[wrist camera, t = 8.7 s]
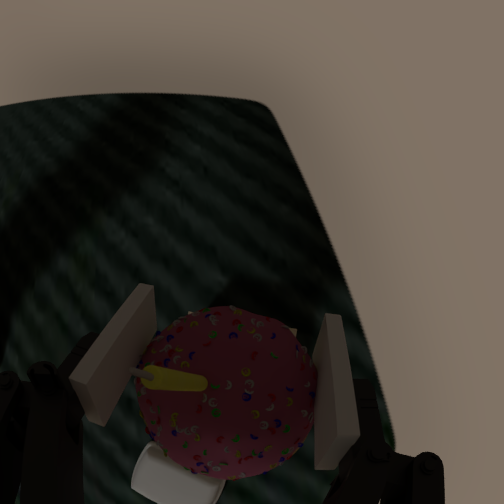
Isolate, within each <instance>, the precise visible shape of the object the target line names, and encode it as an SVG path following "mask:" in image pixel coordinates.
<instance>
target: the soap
mask: <svg viewBox="0 0 504 504" xmlns="http://www.w3.org/2000/svg"><path fill="white" fill-rule="evenodd" d="M225 481H226V480H223V479H217V478H213V477H209V476H206V475H202V474H199V473H197V474H193V473H192V472H191V470H186V469H184V467H183V466H181V465H179V464H177V463H176V462H174V461H173V460H172V459H171V458H170V457H169V456H168V455H167V457H165V456H164V452H163V450H162V449H161V448H160V446H159V445H158V446H157V444H156V442H155V441H150V442H149V443H148V444H147V445H146V446H145V448H144V450H143V451H142V453H141V455H140V457H139V459H138V461H137V463H136V466H135V469H134V472H133V475H132V480H131V483H132V484H131V488H132V489H134V490H135V491H137V492H139V493H140V494H142V495H144V496H145V497H147V498H149V499H150V500H152V501H154V502H156V503H158V504H216V502H217V500H218V499H219V497H220V495H221V492H222V490H223V487H224V485H225Z"/></svg>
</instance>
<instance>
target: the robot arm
mask: <svg viewBox="0 0 504 504" xmlns="http://www.w3.org/2000/svg"><path fill="white" fill-rule="evenodd" d="M156 330H157V322H156V311H155V298H154V286H152V285H147V284H142V283H139V285H138V286H137V287H136V288H135V290H134V291H133V292H132V293H131V295H130V296H129V297H128V298H127V300H126V301H125V302H124V304H123V305H122V306H121V307H120V309H119V310H118V311H117V313H116V314H115V315H114V316H113V318H112V319H111V320H110V322H109V323H108V324H107V326H106V327H105V328H104V330H103V331H102V332H101V334H97V333H94V332H90V333H88V334H87V335H85V336H84V337H82V338H81V339H80V341H79V342H78V343H77V344H76V347H74V348H73V350H72V351H71V353H70V354H69V355H68V356H67V357H66V359H65V360H64V361H63V363H62V364H61V365H60V367H59V368H58V369H56V367H55V365H54V364H52V363H51V362H47V361H41V362H37V363H35V364H33V365H32V366H31V367H30V368H29V369H28V371H27V375H28V377H29V379H30V381H31V382H27V381H20V379H19V377H18V375H17V374H16V373H14V372H13V371H4V372H2V373H0V504H14V503H15V500H16V496H17V492H18V489H19V486H20V482H21V491H20V504H84V491H83V423H82V420H81V419H82V417H83V415H84V413H85V414H86V416H87V418H88V420H89V421H91V422H93V423H96V424H99V425H101V426H104V427H105V425H106V423H107V421H108V419H109V417H110V415H111V413H112V411H113V409H114V407H115V405H116V404H117V402H118V400H119V398H120V396H121V394H122V392H123V390H124V388H125V387H126V385H127V383H128V381H129V379H130V377H131V375H132V374H131V373H130V372H129V369H130V367H135V368H136V366H137V364H138V363H139V361H140V358H141V357H139V355H142V354H143V352H144V350H145V349H146V348H147V347H146V346H148V345H149V343H150V341H151V339H152V337H153V336H154V334H155V332H156ZM312 359H313V363H314V364H315V366H316V368H317V373H318V378H317V388H316V396H315V403H314V424H315V469H316V470H334V469H335V468H336V467H337V466H338V464H339V474H338V475H337V476H336V478H335V479H334V480H333V481H332V482H331V483H330V485H332V486H331V488H330V490H329V492H328V494H327V496H326V498H325V500H324V502H323V503H322V504H378V503H379V501H380V504H445V489H444V468H443V463H442V460H441V459H440V458H439V456H437V455H436V454H434V453H432V452H422V453H421V454H419V455H417V456H416V457H411V456H407V455H403V454H399V453H396V452H394V451H393V450H392V448H391V447H390V446H389V445H388V444H387V443H386V442H385V440H384V436H383V430H382V425H381V419H380V414H379V409H378V404H377V401H376V394H375V389H374V388H373V386H372V385H371V383H370V382H369V380H368V379H352V374H351V368H350V362H349V356H348V351H347V345H346V340H345V334H344V329H343V324H342V319H341V315H335V314H327V313H325V316H324V319H323V322H322V326H321V329H320V332H319V336H318V339H317V342H316V345H315V348H314V352H313V355H312ZM380 499H381V500H380Z"/></svg>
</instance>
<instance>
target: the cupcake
mask: <svg viewBox="0 0 504 504" xmlns="http://www.w3.org/2000/svg"><path fill="white" fill-rule="evenodd" d="M157 334H158V335H157ZM146 347H147V348H146V349H145V350H144V352H143V354H142V355H139V357H141V358H140V361H139V365H137V366H136V368H135V367H130V369H129V372H130V373H131V374H132V375H134V376H136V378H135V379H134V384H135V385H136V392H137V397H138V402H139V406H140V409H141V411H140V412H139V413H140V416H141V417H142V418H144V422H145V424H146V426H147V427H146V429H145V430H146V433H147V434H149V435H150V437H151V438H152V439H153V440H155V442H156V444H157V446H158V445H159V446H160V448H161V449H162V450H163V452H164V456H165V457H167V455H168V456H169V457H170V458H171V459H172V460H173V461H174V462H176V463H177V464H179V465H181V466H183V467H184V469H186V470H191V472H192V473H193V474H197V473H199V474H202V475H206V476H209V477H213V478H217V479H223V480H232V479H234V480H233V481H235V480H237V479H239V478H245V477H250V476H254V475H258V474H261V473H263V474H266V473H267V472H268V471H269V470H271V469H273V468H275V467H276V466H278V465H279V464H280V465H282V464H283V463H284V461H285V460H286V459H287V460H288V459H289V458H291V456H292V455H293V454H294V453H295V452H296V451H297V450H298V449H299V448H300V447H302V446H303V442H304V440H305V439H306V437H307V435H308V433H309V431H310V429H311V428H312V425H313V423H314V403H315V396H316V388H317V378H318V373H317V368H316V366H315V364H314V363H313V360H312V359H311V358H310V356H309V355H308V353H307V348H306V347H305V346H302V345H301V344H300V343H299V341H298V340H297V339H296V337H295V336H294V334H293V333H292V332H291V331H290V329H289V327H288V326H286V325H285V324H283V323H282V322H280V321H278V320H276V319H273V318H270V317H266V316H261V315H257V314H254V313H251V312H248V311H246V310H243V309H240V308H236V307H235V306H232V305H230V306H219V307H212V308H204V309H202V310H199V311H196V312H193V313H191V314H189V315H186V316H185V317H179V320H175V321H174V322H173V323H172V324H171V325H169V326H168V327H167V328H165V329H164V330H163V331H162V332H160V331H157V333H156V337H155V338H154V339H153V340H151V341H150V344H149V345H148V346H146ZM304 348H305V349H304ZM137 368H138V369H137ZM135 381H136V382H135ZM141 414H142V415H141ZM147 430H148V431H147Z"/></svg>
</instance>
